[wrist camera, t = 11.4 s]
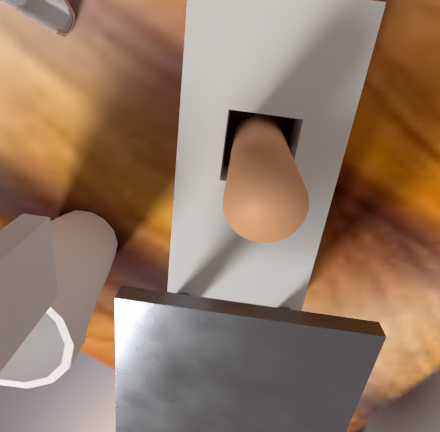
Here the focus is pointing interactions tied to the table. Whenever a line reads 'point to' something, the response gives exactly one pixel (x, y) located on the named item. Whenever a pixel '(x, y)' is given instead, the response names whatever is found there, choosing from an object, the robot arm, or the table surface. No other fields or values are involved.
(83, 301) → the foam cup
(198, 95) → the board
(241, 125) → the peg
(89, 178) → the table surface
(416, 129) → the table surface
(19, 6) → the portable electronic device stand
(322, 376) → the dark grey l-shaped piece
